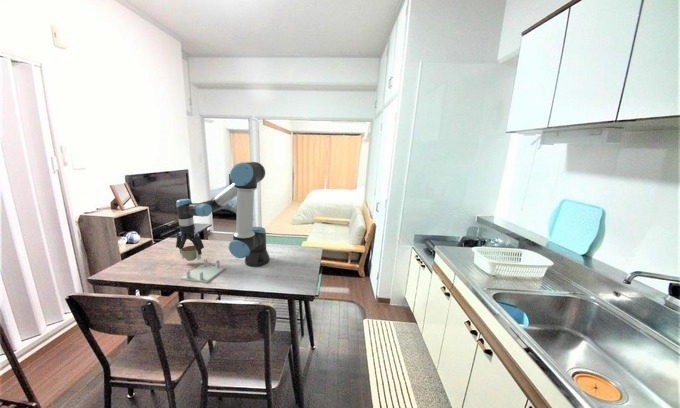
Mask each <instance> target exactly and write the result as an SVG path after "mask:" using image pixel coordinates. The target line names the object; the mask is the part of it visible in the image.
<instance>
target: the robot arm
mask: <svg viewBox="0 0 680 408" xmlns="http://www.w3.org/2000/svg"><path fill="white" fill-rule="evenodd" d="M265 176H266V169H265V167H264V166H263V164H261V163H259V162H258V161H257V162H256V161H251V162H250V161H247V162H244V161H243V162H239V163H235V164H234V165H233V166H232V167H231V169H230V172H229V177H230V181H232V183H231V184H230V185H228V186H227V187H225V189H223V190H222V191H221V192H220V193H218V194H217V195H216V196H214V197H213V198H211V199H209V200H206V201H205V200H204V201H202V202H198V203H197V202H192V199H190V198H181V199H178V200H176V212H177V217H178V225H179V230H180V231H179V232H177V233H176V242H175V247H176V249H177V248H178V249H179V254H180V256H181V260H184V259H185V258H184V257H183V255H182V253H181V249H182V248H184V247H185V244H186V242H187V240H188V241H190V242H191V243H192V244H193V245H194V246H195V247H196V249H197V250H196V255H197V258H196V260H197V261H200V260H201V259H202V249H204V248H205V246H204V243H203V240H202V239H201V234H200V232H197V233H196V232H195V230H196V229H195V224H194V223H195V220H194V217H203V218H204V217H209V216H210V214H212V213H214V212H217V211H220V210H222V209H224V207H225V205H227V204H228V203H230V202H231V201H232V200H233V199H235V198H236V223H235V224H236V225H235V227H236V229H235V231H234V232H233V234H232V236H233V237H232V240H231V241H230V242H229V243H228V251H229V252H230V254H231V255H232V256H233V257H235V258H238V259H244V264H245V265H246V266H248V267H253V268H254V267H261V266H265V265H267V264H268V263H269V262H270V255H269V253H268V251H267V231H266V228H265V227H262V226H253V223H254V222H253V220H254V200H255V199H254V195H255V191H256V190H257V188H258V183H260V182H261V181H262V180H263V179H264V178H265ZM198 247H199V248H198Z"/></svg>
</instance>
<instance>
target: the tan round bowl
mask: <svg viewBox="0 0 680 408" xmlns="http://www.w3.org/2000/svg"><path fill="white" fill-rule="evenodd" d="M198 248H199V247H198ZM196 250H197V249H196V247H195V246H194V244H193V245H188V246H184V247H183V248H182V249H181V253H182V255H183V257H184V259H185V260H186V261H187V262H190V261H194V260H197V255H196ZM181 253H180V254H181Z"/></svg>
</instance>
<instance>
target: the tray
mask: <svg viewBox="0 0 680 408" xmlns="http://www.w3.org/2000/svg"><path fill="white" fill-rule="evenodd" d="M203 261H204V264H200V265H199V266H197V267H195V268H194V269H193V270H191V271H190V270H186V271H185V272H186V274H185V275H183V276H182V277H180V280H181V281H182V280H184V281H190V282H199V283H200V282H201V283H207V284H208V283H209V282H210V281H211V280H213V279H214V278H215V277H216V276H218V275H220V274H221V273H222V272H223V271H224V270H226V267H225V266H220V260H216V262H215V263H216V265H210V264H209V265H208V262H209V261H208V259H204V260H203Z"/></svg>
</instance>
